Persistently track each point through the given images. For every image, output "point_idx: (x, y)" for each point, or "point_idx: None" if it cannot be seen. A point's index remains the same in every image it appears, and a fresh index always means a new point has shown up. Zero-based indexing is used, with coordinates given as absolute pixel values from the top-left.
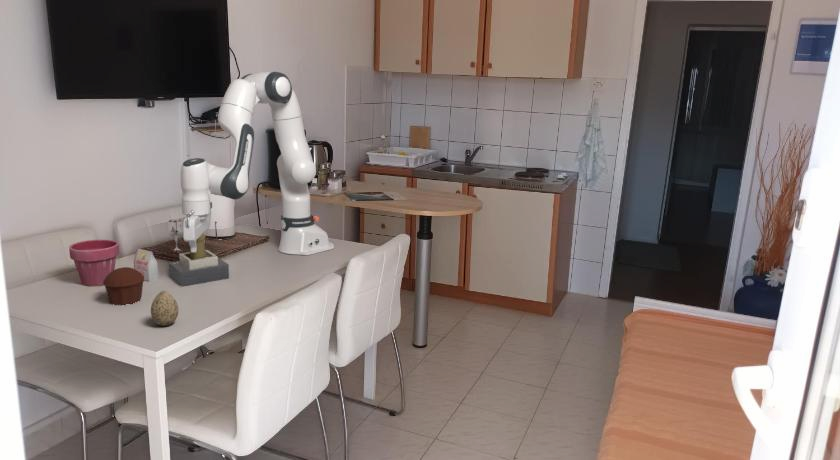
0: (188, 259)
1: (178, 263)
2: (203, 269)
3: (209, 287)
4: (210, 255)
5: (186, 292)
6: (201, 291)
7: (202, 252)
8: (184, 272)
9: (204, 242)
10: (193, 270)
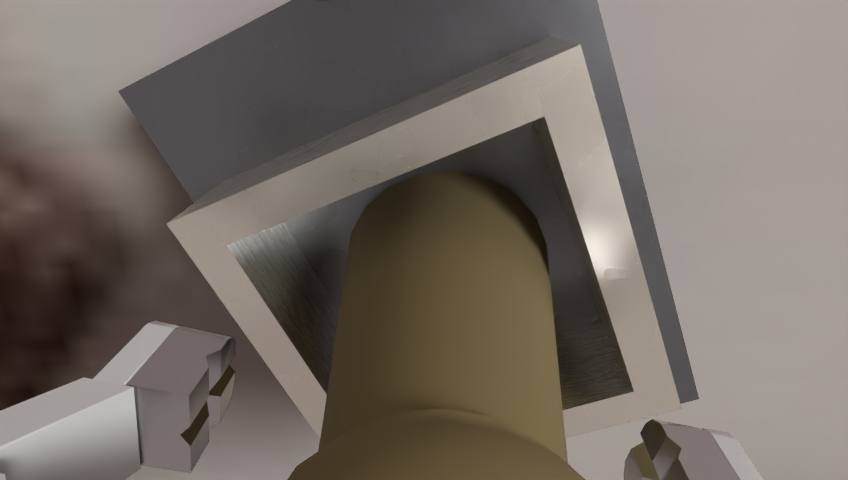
0: (611, 415)
1: None
2: (646, 207)
3: (750, 108)
4: (413, 164)
5: (794, 279)
6: (829, 173)
7: (533, 307)
8: (688, 369)
9: (175, 332)
10: (672, 303)
